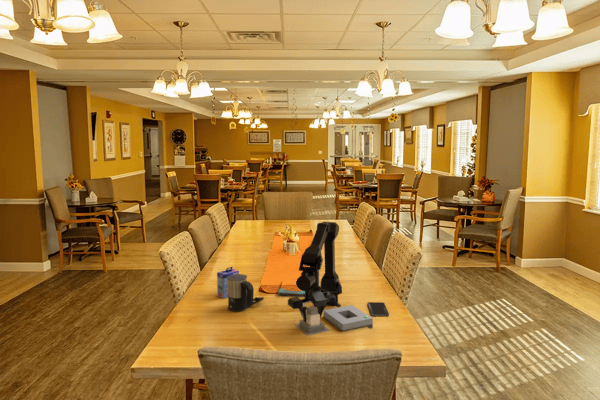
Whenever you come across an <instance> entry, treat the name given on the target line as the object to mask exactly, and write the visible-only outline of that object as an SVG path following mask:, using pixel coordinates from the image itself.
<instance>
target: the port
mask: <svg viewBox="0 0 600 400" xmlns="http://www.w3.org/2000/svg"><path fill="white" fill-rule="evenodd" d="M323 318H324V319H325V320H326V321H328V322H329V323H331V324H332V325H334V326H335V327H336V328H337V329H339V331H341V332H348V331H352V330H353V331H354V330H358V329H361V328H368V329H372V328H373V325H374V323H373V321H374V318H373V316H371V315H370V314H369V315H368V314H367V313H366V312H363V310H360V309H359V308H357V307H356V306H354V305H353V304H351V305H346V306H339V307H336V308H331V309H324V310H323Z"/></svg>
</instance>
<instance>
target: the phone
mask: <svg viewBox="0 0 600 400" xmlns="http://www.w3.org/2000/svg"><path fill="white" fill-rule="evenodd" d="M367 307H368V311H369V313H370V314H369V315H370V317H380V318H381V317H389V316H390V313H389V311H388V309H387V308H388V307H387V306H386V304H385V302H379V301H378V302H374V301H373V302H372V301H371V302H367Z"/></svg>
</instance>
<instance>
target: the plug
mask: <svg viewBox="0 0 600 400" xmlns="http://www.w3.org/2000/svg"><path fill="white" fill-rule="evenodd" d="M306 307H307V309H306V322H305V323H306V324H307V325H308V326H310V327H312V326H317V325H320V322H321V318H320V314H318V309H317V307H314V305H311V306H306Z"/></svg>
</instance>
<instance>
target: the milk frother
mask: <svg viewBox="0 0 600 400" xmlns="http://www.w3.org/2000/svg"><path fill="white" fill-rule="evenodd" d="M247 278H248V275H246V274H243V273H239V274H234V275H230V276H228V277H227V283H228V300H227V302H228V303H227V304H228V306H227V310H228V311H230V312H237V313H238V312H242V311H247V310H248V309H249V308H251V307H253V306H254V305H255V304H258V303H260V302H262V301H264V299H265V298H264V297H263V296H262V297H261V296H260V297H257V296H255V297H254V294H255V292H254V286H253V284H252V282H250V281H247Z"/></svg>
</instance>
